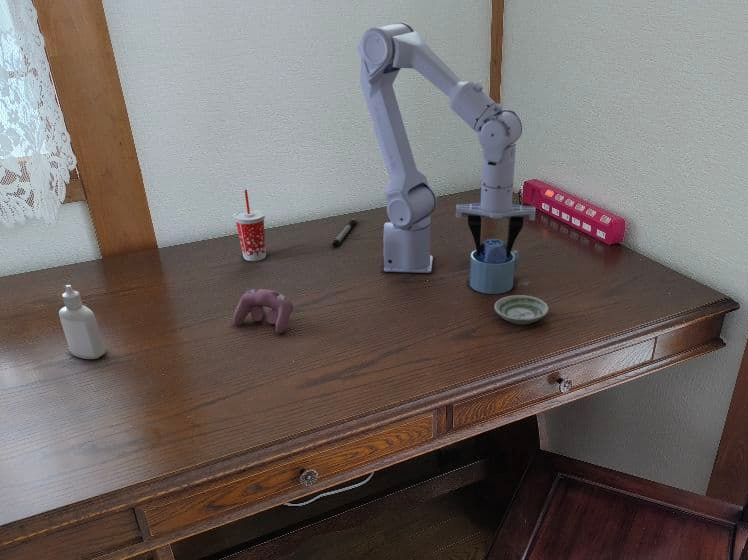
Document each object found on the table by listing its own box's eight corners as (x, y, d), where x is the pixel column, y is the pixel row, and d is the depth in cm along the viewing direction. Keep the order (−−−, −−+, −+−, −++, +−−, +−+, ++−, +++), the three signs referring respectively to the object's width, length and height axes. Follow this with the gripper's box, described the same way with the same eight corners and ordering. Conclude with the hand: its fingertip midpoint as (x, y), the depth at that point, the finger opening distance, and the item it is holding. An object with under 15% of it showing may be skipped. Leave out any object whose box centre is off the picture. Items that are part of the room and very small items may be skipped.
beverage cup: (276, 255, 153) (268, 188, 145) (254, 264, 149) (245, 197, 141) (254, 248, 156) (245, 183, 148) (233, 258, 151) (222, 191, 144)
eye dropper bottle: (80, 365, 116) (59, 296, 109) (68, 351, 119) (47, 283, 112) (108, 356, 118) (89, 288, 111) (95, 342, 122) (76, 276, 115)
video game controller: (293, 334, 128) (298, 294, 127) (280, 334, 124) (285, 293, 123) (244, 324, 131) (248, 285, 130) (229, 324, 127) (234, 284, 125)
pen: (331, 247, 157) (331, 241, 156) (353, 220, 170) (352, 215, 170) (337, 248, 157) (337, 242, 156) (358, 221, 170) (358, 215, 170)
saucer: (517, 301, 137) (518, 289, 136) (558, 319, 132) (559, 307, 130) (482, 317, 132) (483, 305, 130) (523, 336, 126) (524, 324, 125)
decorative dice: (506, 265, 139) (507, 245, 137) (486, 267, 138) (487, 247, 136) (498, 257, 143) (500, 237, 140) (479, 259, 142) (480, 239, 139)
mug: (492, 298, 138) (493, 268, 135) (460, 283, 143) (461, 254, 140) (531, 281, 145) (534, 252, 141) (500, 268, 150) (502, 240, 146)
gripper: (456, 189, 129) (454, 261, 136) (539, 191, 129) (532, 264, 136) (457, 177, 135) (455, 246, 142) (536, 179, 134) (529, 249, 142)
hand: (492, 254), depth 140 cm, fingers closed on decorative dice, 5 cm apart
